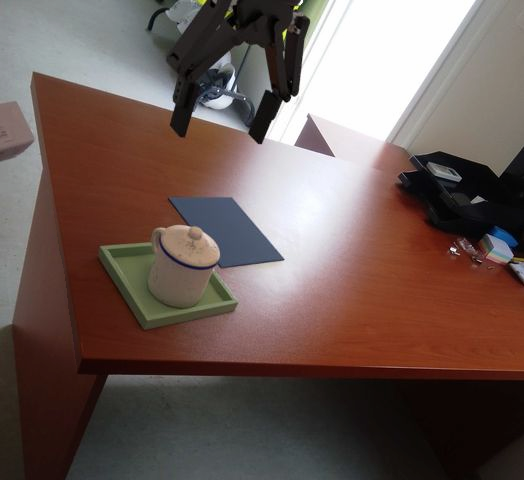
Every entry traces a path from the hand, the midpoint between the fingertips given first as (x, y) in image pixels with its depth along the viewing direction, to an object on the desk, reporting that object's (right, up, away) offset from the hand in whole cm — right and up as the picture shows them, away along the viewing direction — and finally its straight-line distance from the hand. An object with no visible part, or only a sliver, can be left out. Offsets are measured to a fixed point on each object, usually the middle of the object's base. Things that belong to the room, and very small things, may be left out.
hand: (218, 135), depth 63 cm
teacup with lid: (-9, -19, +9) cm, 23 cm away
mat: (-1, -6, +27) cm, 27 cm away
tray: (-9, -19, +9) cm, 23 cm away
